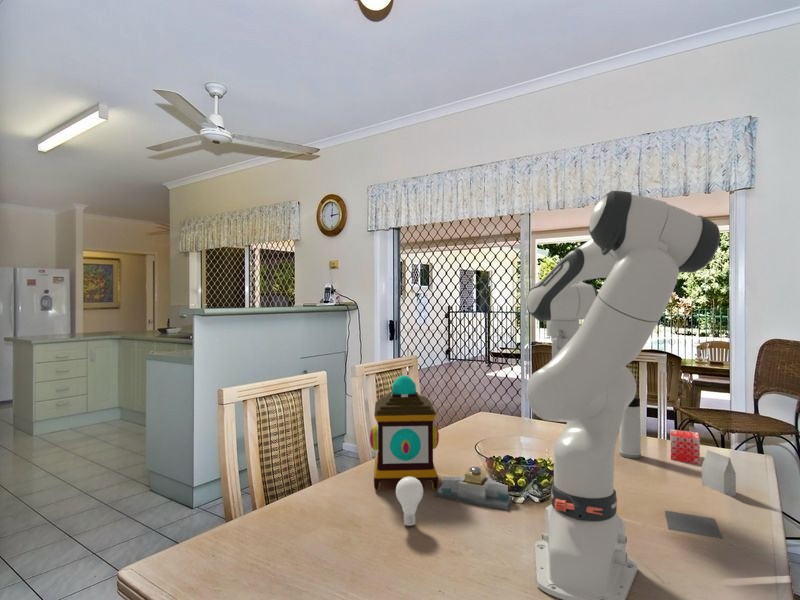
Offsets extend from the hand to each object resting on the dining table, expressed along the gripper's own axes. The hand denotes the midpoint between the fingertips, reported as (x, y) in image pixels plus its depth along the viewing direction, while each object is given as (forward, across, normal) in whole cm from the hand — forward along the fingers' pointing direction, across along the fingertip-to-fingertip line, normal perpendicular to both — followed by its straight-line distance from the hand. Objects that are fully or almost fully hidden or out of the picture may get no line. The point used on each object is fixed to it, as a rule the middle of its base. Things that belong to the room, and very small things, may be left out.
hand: (563, 378), depth 131 cm
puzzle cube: (+30, +37, -33) cm, 58 cm away
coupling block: (+28, -20, +20) cm, 40 cm away
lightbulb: (+29, -42, +29) cm, 59 cm away
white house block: (+29, +10, -38) cm, 49 cm away
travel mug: (+29, +32, -17) cm, 47 cm away
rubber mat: (+29, -16, -29) cm, 44 cm away
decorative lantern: (+29, -17, +42) cm, 54 cm away
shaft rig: (+29, -20, +20) cm, 41 cm away
